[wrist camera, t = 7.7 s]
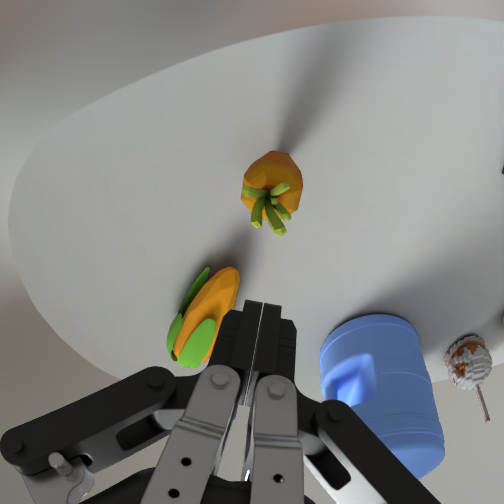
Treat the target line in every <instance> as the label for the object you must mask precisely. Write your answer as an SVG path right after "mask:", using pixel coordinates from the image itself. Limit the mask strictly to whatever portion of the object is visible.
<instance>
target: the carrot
mask: <svg viewBox="0 0 504 504" xmlns="http://www.w3.org/2000/svg"><path fill="white" fill-rule="evenodd" d="M302 188H303V180H302V174H301V171H300V170H299V168H298V167H297V165H296V164H295V163H294V161H293V160H292V158H291V157H290V155H289V154H288V153H283V152H278V151H271V152H269V153H267V154H266V155H264V156H263V157H261V158H260V159H258V160H257V161H255V162H254V163H253V164H252V165H251V166H250V167H249V168H248V170H247V171H246V173H245V174H244V180H243V187H242V194H241V200H242V201H243V202H244V204H245V205H246V206H247V208H248V209H249V210H250V211H251V223H252V225H253V226H254V227H255V228H260V227H262V219H266V220H268V222H269V224H270V226H271V228H272V230H273V232H274V233H275V235H276V236H282V235H283V234H285V233H286V228H285V226H284V224H283V223H282V221H281V219H283V220H285V221H288V220H290V219H291V215H290V214H291V213H293V212H295V211H296V210H297V209H298V206H299V201H300V197H301V192H302Z"/></svg>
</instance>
